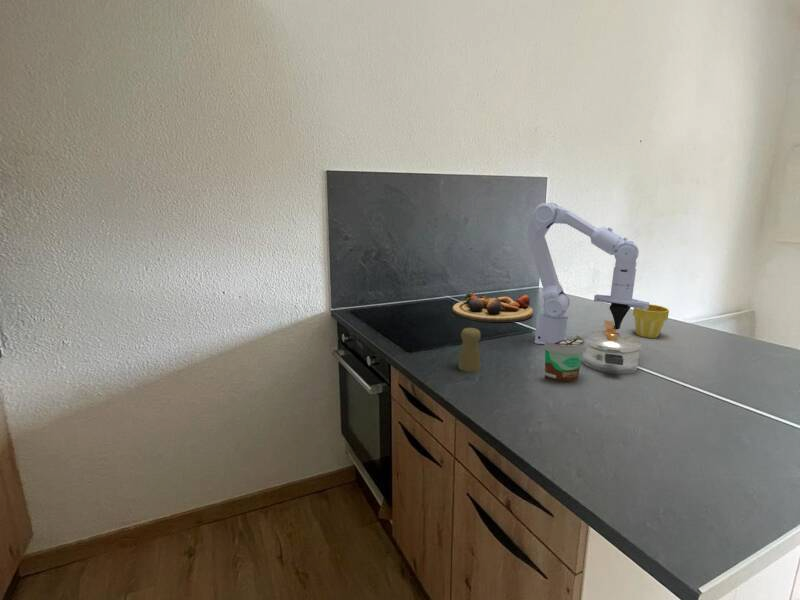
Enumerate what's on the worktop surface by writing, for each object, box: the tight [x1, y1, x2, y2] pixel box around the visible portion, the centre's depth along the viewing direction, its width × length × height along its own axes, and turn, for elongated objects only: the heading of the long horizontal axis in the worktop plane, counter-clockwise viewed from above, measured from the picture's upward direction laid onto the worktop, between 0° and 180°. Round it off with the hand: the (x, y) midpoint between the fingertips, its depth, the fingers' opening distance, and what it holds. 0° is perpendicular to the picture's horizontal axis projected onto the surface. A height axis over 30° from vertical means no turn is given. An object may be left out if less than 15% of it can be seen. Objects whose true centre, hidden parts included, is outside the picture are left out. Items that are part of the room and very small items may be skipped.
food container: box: [543, 335, 586, 383], centre depth 109 cm, size 12×6×10 cm, turn 117°
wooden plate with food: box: [451, 291, 534, 323], centre depth 173 cm, size 32×32×8 cm
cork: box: [457, 327, 482, 373], centre depth 115 cm, size 6×6×11 cm
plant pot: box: [632, 303, 670, 339], centre depth 145 cm, size 10×10×10 cm
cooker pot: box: [581, 344, 641, 375], centre depth 120 cm, size 22×14×6 cm, turn 160°
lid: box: [582, 319, 643, 353], centre depth 121 cm, size 20×15×3 cm
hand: (617, 328), depth 127 cm, fingers closed
